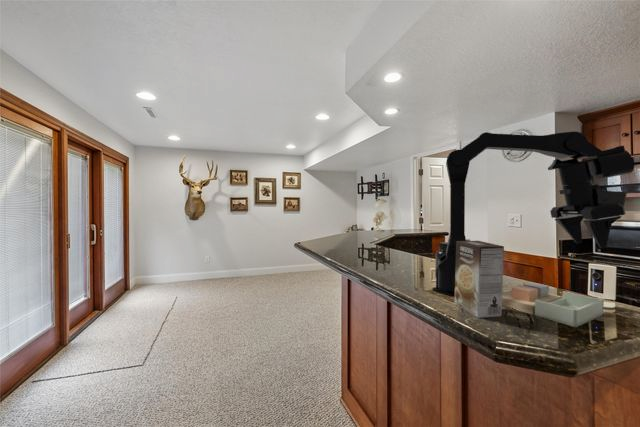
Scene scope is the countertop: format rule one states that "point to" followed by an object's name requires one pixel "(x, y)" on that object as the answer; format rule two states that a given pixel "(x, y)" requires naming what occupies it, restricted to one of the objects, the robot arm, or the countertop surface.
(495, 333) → the countertop surface
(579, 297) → the tray
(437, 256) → the supplement bottle
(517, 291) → the tile terracotta
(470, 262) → the coffee box
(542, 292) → the tile slate
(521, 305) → the deck
